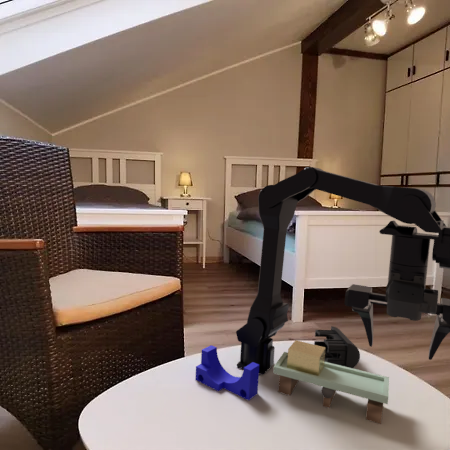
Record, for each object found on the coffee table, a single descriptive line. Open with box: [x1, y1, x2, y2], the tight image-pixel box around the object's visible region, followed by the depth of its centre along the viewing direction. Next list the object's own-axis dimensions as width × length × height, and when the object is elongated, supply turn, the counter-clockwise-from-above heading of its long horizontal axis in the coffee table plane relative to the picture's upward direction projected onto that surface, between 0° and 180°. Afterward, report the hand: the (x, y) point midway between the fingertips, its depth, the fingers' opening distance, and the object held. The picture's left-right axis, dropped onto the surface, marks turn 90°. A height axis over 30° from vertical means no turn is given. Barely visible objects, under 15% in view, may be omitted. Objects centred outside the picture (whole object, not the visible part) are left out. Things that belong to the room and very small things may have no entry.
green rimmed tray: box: [273, 351, 390, 405], centre depth 69 cm, size 20×7×2 cm, turn 65°
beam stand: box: [277, 375, 384, 425], centre depth 69 cm, size 18×7×4 cm, turn 63°
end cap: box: [313, 325, 361, 369], centre depth 84 cm, size 10×7×7 cm
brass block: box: [287, 340, 326, 376], centre depth 71 cm, size 6×5×4 cm
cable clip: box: [195, 345, 260, 401], centre depth 72 cm, size 12×4×6 cm, turn 52°
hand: (399, 352), depth 63 cm, fingers open, 9 cm apart
